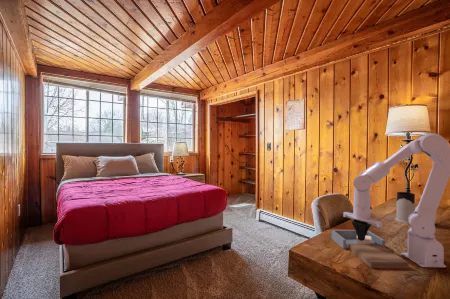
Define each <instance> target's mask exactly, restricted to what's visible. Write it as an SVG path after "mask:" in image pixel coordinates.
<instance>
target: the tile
mask: <svg viewBox="0 0 450 299" xmlns="http://www.w3.org/2000/svg"><path fill="white" fill-rule="evenodd" d="M371 241H372V240H371V236H365V240H363V241H360V240H358V237H357V244H371Z"/></svg>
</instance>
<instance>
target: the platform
mask: <svg viewBox="0 0 450 299" xmlns="http://www.w3.org/2000/svg"><path fill="white" fill-rule="evenodd" d="M348 250H349V251H350V252H352V253H353V254H354V255H355V256H356V257H357V258H359V259H360V260H361V261H363V263H365V264H366V265H367V266H368V267H370V268H371V269H373V268H374V269H409V261H407V260H405V259H404V258H403V257H401V256H399V255H398V254H396V253H394V252H393V251H391V250H389V249H388V248H386V246H385V247H383V246H382V245H380V244H348Z"/></svg>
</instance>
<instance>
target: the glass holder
mask: <svg viewBox="0 0 450 299" xmlns="http://www.w3.org/2000/svg"><path fill="white" fill-rule="evenodd" d="M415 195H416V194H415V193H413V192H405V191H398V192H396V204H395V205H396V209H395V210H396V216H395V219H394V220H395V221H397V222H398V223H403V224H409V221H408V218H409V216H410V215H411V214H412V213H413V212H414V211H415V209H416V202H415V201H416V200H415V198H416V196H415ZM409 225H410V224H409Z"/></svg>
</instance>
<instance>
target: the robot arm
mask: <svg viewBox="0 0 450 299" xmlns="http://www.w3.org/2000/svg"><path fill="white" fill-rule="evenodd" d="M422 153H423V154H425V155H427V157H428V158H429V159H430V161H432V163H433V165H432V168H431V170H430V172H429V175H428V178H427V181H426V184H425V186H424V189H423V192H422V194H421V197H420V199H419V202H418V204H417V205H416V206H415V211H414V212H413V213H412V214H411V215H410V216H409V218H408V221H409V225H410V228H409V229H407V252H401V253H400V255H402V256H404V257H405V258H407V259H408V260H410V261H412V262H414V263H415V264H416V265H418V266H420V267H422V268H446V267H447V265H446V264H445V262H444V259H445V258H444V256H445V248H444V246H443V244H442V243H441V242H440V241H438V240H437V239H436V235H435V233H436V226H435V224H436V223H435V222H436V220H437V219H436V218H437V211H438V207H439V205H440V203H441V200H442V197H443V195H444V192H445V190H446V187H447V185H448V182H449V179H450V144H449V141H448V140H446V138H444V137H443V136H442V135H440V134H438V133H434V132H433V133H426V134H424V135H421V136H419V137H418V138H416V139H415V140H414V139H413V140H412V141H410V142H408V143H407V144H405V145H404V146H403V147H401V148H400V149H398V150H397V151H396V152H394V153H393V154H392V155H390V156H389V157H388V158H386V159H385V160H384V161H376V162H372V163H371V164H370V167H368V168H366V169H365V170H364V171H363V170H362V171H360V172H359V174H358V175H357V176H355V178H354V179H353V181H352V184H353V186H354V187H353V208H352V210H353V211H352V212H350V211H343V215H342V216H343V218H348V219H351V220H352V221H351V224H352V225H353V228H354V230H356V233H357V237H358V240H360V241H363V240H365V236H366V233H367V231H369V229H370V228H371V226H374V227H377V228H383V221H381V220H378V219H375V218H374V217H371V193H370V192H371V191H370V190H371V186H372V185H375V184H376V183H378V182H379V181H380V180H382V179H384V178H385V177H387V176H388V175H389V174H390V173H391V171H390V170H391V168H393V167H394V166H396V165H397V164H399V163H401V162H402V161H403V160H405V159H406V158H409V156H411V155H417V154H422Z"/></svg>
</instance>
